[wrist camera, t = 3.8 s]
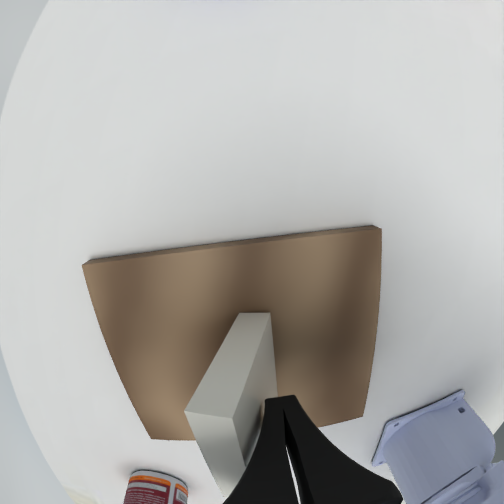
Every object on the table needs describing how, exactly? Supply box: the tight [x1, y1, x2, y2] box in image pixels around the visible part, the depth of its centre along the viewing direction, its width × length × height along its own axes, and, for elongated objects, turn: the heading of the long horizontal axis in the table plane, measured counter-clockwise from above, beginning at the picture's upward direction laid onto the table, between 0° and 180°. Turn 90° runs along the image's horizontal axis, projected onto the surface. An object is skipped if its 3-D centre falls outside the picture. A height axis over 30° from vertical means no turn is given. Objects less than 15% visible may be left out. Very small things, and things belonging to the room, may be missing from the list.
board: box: [82, 226, 382, 440], centre depth 16 cm, size 16×14×1 cm
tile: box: [184, 313, 278, 497], centre depth 12 cm, size 2×7×7 cm, turn 7°
